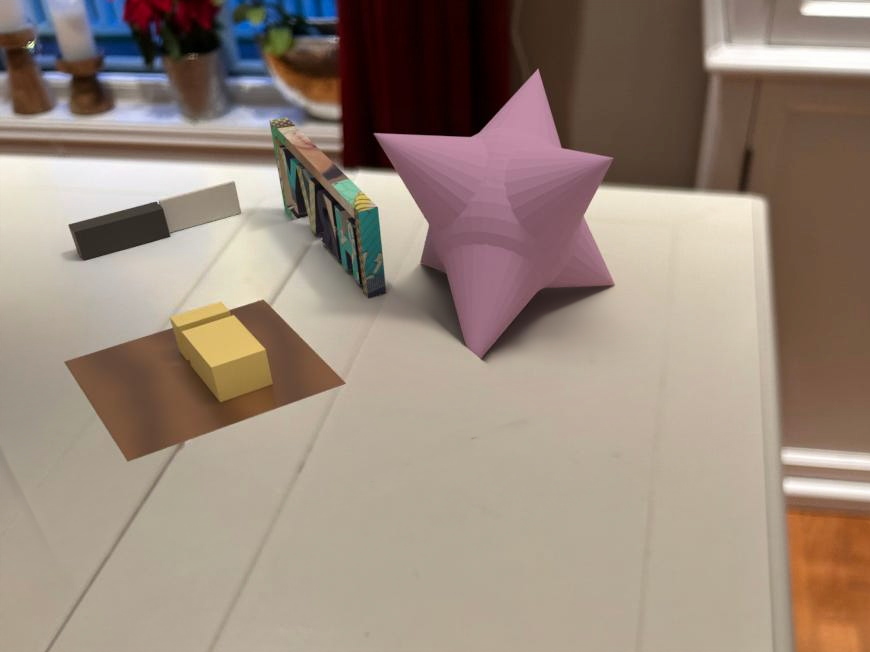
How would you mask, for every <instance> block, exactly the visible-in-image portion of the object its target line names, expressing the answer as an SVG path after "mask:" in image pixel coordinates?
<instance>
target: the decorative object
mask: <svg viewBox="0 0 870 652" xmlns="http://www.w3.org/2000/svg"><path fill="white" fill-rule="evenodd" d="M373 135H374V137H375V138H376V140H377V142H378V144H379V145H380V147H381V148H382V150H383V152H384V154H385V155H386V156H387V159H389V162H390V163H391V165H392V166H393V168H394V170H395V171H396V173H397V175H398V176H399V178H400V180H401V181H402V183H403V184H404V186H405V187H406V189H407V191H408V193H409V194H410V196H411V197H412V199H413V201H414V202H415V204H416V206H417V207H418V209H419V210H420V212H421V214H422V216H423V217H424V218H425V220H426V222H427V224H428V228H427V232H426V237H425V240H424V245H423V249H422V253H421V257H420V260H419V263H420V264H423V265H425V266H427V267H430V268H432V269H434V270H437V271H440V272H441V273H444V274H446V276H447V280H448V284H449V287H450V290H451V292H450V293H451V295H452V299H453V302H454V306H455V310H456V314H457V317H458V321H459V325H460V329H461V333H462V337H463V341H464V344H465V347H466V348H467V349H468V350H469V351H470V352H471V353H473V354H474V355H475V356H476V357H477V358H479V359H482V358H483V357H484V356H485V355H486V353H487V352H488V351H489V350H490V349H491V348H492V346H493V345H494V344H495V343H496V341H497V340H498V339H499V338H500V337H501V335H502V334H503V333H504V332H505V331H506V329H507V328H508V327H509V326H510V325H511V324H512V322H513V321H514V320H515V319H516V318H517V316H519V314H520V313H521V312H522V310H523V309H524V308H525V307H526V306H527V304H528V303H529V302H530V301H531V300H532V299H533V298H534V297H535V295H536V294H537V293H538V292H539V291H541V290H544V289H552V288H577V287H578V288H579V287H602V286H616V283H615V281H614V279H613V277H612V274H611V273H610V271H609V268H608V265H607V264H606V262H605V260H604V257H603V256H602V253H601V251H600V249H599V246H598V244H597V242H596V240H595V238H594V236H593V234H592V231H591V228H590V227H589V225H588V223H587V220H586V218H585V215H586V212H587V211H588V209H589V206H591V203H592V201H593V198H594V197H595V196H596V193H597V191H598V190H599V188H600V186H601V183H602V181H603V180H604V178H605V176H606V175H607V172H608V170H609V168H610V166H611V165H612V162H613V160H614V157H612V156H611V157H610V156H606V155H601V154H596V153H591V152H585V151H578V150H573V149H569V148H563V147H562V145H561V140H560V137H559V134H558V131H557V127H556V123H555V120H554V117H553V114H552V111H551V107H550V104H549V100H548V97H547V94H546V90H545V87H544V84H543V80H542V77H541V73H540V70H539V68H537V69H536V70H535V72H533V74H531V76H530V77H529V78H528V79H527V80H526V81H525V83H524V84H523V85H522V86H521V87H520V88H519V89H518V90H517V91H516V92H515V93H514V94H513V95H512V96H511V98H510V99H509V100H508V101H507V102H506V103H505V104H504V105H503V106H502V108H500V109H499V111H498V112H497V113H496V114H495V115H494V116H493V117H492V119H490V120H489V122H488V123H486V125H485V126H484V127H483V128H482V129H481V130H480V131H479V132H478V133H476V134H474V135H472V136H450V135H447V136H446V135H427V134H425V135H424V134H423V135H422V134H402V133H399V134H398V133H381V132H380V133H379V132H377V133H376V132H374V133H373Z"/></svg>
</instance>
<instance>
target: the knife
mask: <svg viewBox="0 0 870 652" xmlns="http://www.w3.org/2000/svg"><path fill="white" fill-rule="evenodd" d="M241 214H242V210H241V205H240V200H239V196H238V190H237V185H236V181H235V180H231V181H228V182H227V181H226V182H223V183H220V184H215V185H212V186H207V187H204V188H200V189H197V190H196V189H195V190H193V191H188V192H185V193H181V194H178V195H173V196H170V197H166V198H161V199H158V201H153V202H148V203H144V204H141V205H137V206H133V207H130V208H125V209H122V210H118V211H114V212H110V213H107V214H103V215H99V216H96V217H91V218H88V219H85V220H84V219H83V220H80V221H76V222H73V223H69V224H68V226H67V227H68V229H69V231H70V234H71V237H72V240H73V244H74V246H75V250H76V252H77V253H78V255H79V257H81V259H82V260H83V261H87V260H90V259H93V258H98V257H100V256H105V255H108V254H111V253H116V252H119V251H123V250H126V249H130V248H134V247H136V246H141V245H144V244H147V243H152V242H155V241H159V240H162V239H166V238H169V237H171V234H172V233H174V232H179V231H182V230H186V229H189V228H192V227H193V228H194V227H196V226H200V225H203V224H207V223H211V222H214V221H217V220H222V219H226V218H229V217H232V216H236V215H241Z"/></svg>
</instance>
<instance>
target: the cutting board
mask: <svg viewBox="0 0 870 652" xmlns="http://www.w3.org/2000/svg"><path fill="white" fill-rule="evenodd" d="M228 310H229V311H230V315H231V316H233V315H234V316H235V317H236V318H237V319H238V320H239V321H240V322H241V323H242V324H243V326H244V327H245V328H246V329H247V330H248V331H249V332H250V333H251V334H252V335H253V336H254V337H255V339H256V340H257V341H258V342H259V343H260V344H261V345H262V346H263V347H264V348H265V349H266V354H267V359H268V364H269V368H270V373H271V378H272V383H273V384H272V385H269V386H267V387H264V388H261V389H258V390H255V391H252V392H249V393H246V394H244V395H241V396H238V397H235V398H232V399H229V400H226V401H223V402H220V401H219V400H218V399H217V398H216V396H215V395H214V394H213V393H212V391H211V390H210V389H209V388H208V386H207V385H206V384H205V383H204V381H203V380H202V379H201V378H200V376H199V375H198V374H197V373H196V371H195V370H194V369H193V368H192V366H191V364H190V360H188V361H187V360H186V359H185V357H184V356H183V355H182V354H181V352H180V351H179V348H178V344H177V341H176V337H175V334H174V331H173V327H170V328H166V329H164V330H161V331H158V332H155V333H151V334H148V335H145V336H141V337H138V338H136V339H133V340H129V341H126V342H122V343H120V344H117V345H113V346H110V347H106V348H103V349H100V350H97V351H93V352H90V353H88V354H84V355H81V356H78V357H75V358H71V359H68V360H65V361H63V362H64V364H65V366H66V367H67V369H68V370H69V373H70V374H71V375H72V378H74V380H75V382H76V383H77V385H78V387H80V389H81V391H82V393H83V394H84V396H85V397H86V399H87V400H88V402H89V403H90V405H91V406H92V408H93V409H94V411H95V413H96V414H97V416H98V418H99V420H101V421H100V422H102V424H103V425H104V427H105V428H106V430H107V432H108V433H109V436H111V438H112V440H113V441H114V443H115V444H116V446H117V448H118V449H119V450H120V452H121V454H122V455H123V457H124V458H125V460H126V462H131V461H134V460H137V459H140V458H142V457H145V456H148V455H151V454H154V453H156V452H160V451H162V450H164V449H168V448H170V447H173V446H177V445H179V444H182V443H184V442H187V441H190V440H194V439H196V438H198V437H201V436H204V435H207V434H209V433H212V432H216V431H218V430H221V429H223V428H226V427H229V426H232V425H235V424H238V423H240V422H243V421H246V420H249V419H252V418H254V417H257V416H260V415H262V414H266V413H268V412H271V411H274V410H277V409H279V408H283V407H285V406H288V405H290V404H293V403H296V402H299V401H302V400H304V399H307V398H311V397H313V396H315V395H319V394H321V393H324V392H326V391H330V390H332V389H335V388H338V387H341V386H344V385H346V384H347V383H346V381H344V380H343V379H342V377H340V376H339V374H337V372H336V370H335V371H334V370H333V368H332V367H331V366H330V365H329V364H328V363H327V362H326V361H325V360H324V359H323V358H322V357H321V356H320V355H319V354H318V352H316V351H315V350H314V349H313V348H312V347H311V346H310V345H309V344H308V343H307V342H306V341H305V340H304V339H303V338H302V337H301V336H300V334H299V333H297V331H295V329H293V328H292V326H290V324H289V323H287V322H286V321H285V319H283V317H282V316H280V315H279V313H278V312H276V310H275V309H274V308H273V307H272V306H270V305H269V303H268V302H267V301H266V300H265V299H260V300H256V301H254V302H249V303H248V304H244V305H241V306H238V307H234V308H232V309H228Z"/></svg>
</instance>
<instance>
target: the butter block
mask: <svg viewBox="0 0 870 652" xmlns="http://www.w3.org/2000/svg"><path fill="white" fill-rule="evenodd" d="M182 335H183V339H184V342H185V346H186V349H187V353H188V357H189V360H190V364H191V366H192V368H193V369H194V370H195V371H196V373H197V374H198V375H199V376H200V378H201V379H202V380H203V381H204V383H205V384H206V385H207V386H208V388H209V389H210V390H211V391H212V393H213V394H214V395H215V396H216V398H217V399H218V400H219V401H220V402H223V401H226V400H229V399H232V398H235V397H238V396H241V395H244V394H246V393H249V392H252V391H255V390H258V389H261V388H264V387H267V386H269V385H272V384H273V383H272V378H271V373H270V368H269V364H268V359H267V354H266V349H265V348H264V347H263V346H262V345H261V344H260V343H259V342H258V341H257V340H256V339H255V337H254V336H253V335H252V334H251V333H250V332H249V331H248V330H247V329H246V328H245V327H244V326H243V324H242V323H241V322H240V321H239V320H238V319H237V318H236V317H235V316H234V315H233V316H229V317H226V318H223V319H220V320H217V321H213V322H210V323H207V324H204V325H201V326H198V327H194V328H191V329H188V330H185V331H182Z"/></svg>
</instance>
